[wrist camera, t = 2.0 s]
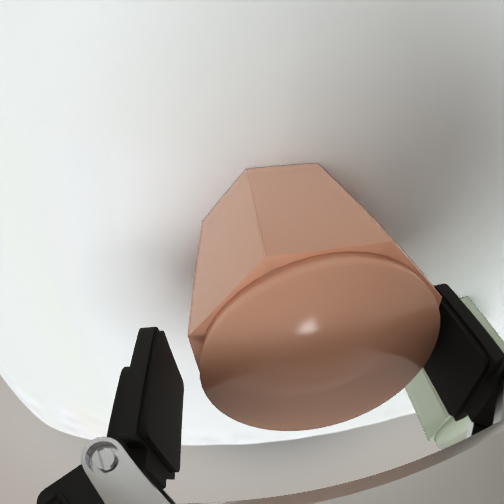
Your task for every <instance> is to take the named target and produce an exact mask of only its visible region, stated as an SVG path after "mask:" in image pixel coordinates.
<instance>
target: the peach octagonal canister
mask: <svg viewBox="0 0 504 504" xmlns="http://www.w3.org/2000/svg"><path fill="white" fill-rule="evenodd" d="M441 299H442V296H441V295H440V294H439V292H438V291H437V290H436V289H435V287H434V286H433V285H432V284H431V283H430V281H429V280H428V279H427V278H426V276H425V275H424V274H423V273H422V272H421V271H420V269H419V268H418V267H417V266H416V265H415V263H414V262H413V261H412V260H411V259H410V258H409V256H408V255H407V254H406V253H405V252H404V251H403V250H402V248H401V247H400V246H399V245H398V244H397V243H396V242H395V241H394V240H393V238H392V237H391V236H390V235H389V234H388V233H387V232H386V231H385V230H384V229H383V227H382V226H381V225H380V224H379V223H378V222H377V221H376V220H375V219H374V218H373V217H372V216H371V215H370V214H369V213H368V212H367V211H366V210H365V208H364V207H363V206H362V205H361V204H359V203H358V202H357V201H356V200H355V199H354V198H353V197H352V196H351V195H350V194H349V193H348V192H347V191H346V190H345V189H344V188H343V187H342V186H341V185H340V184H339V183H337V182H336V181H335V180H334V179H333V178H332V177H331V176H330V175H329V174H328V173H327V172H326V171H325V170H324V169H323V168H322V167H321V166H320V165H319V164H318V163H309V164H295V165H283V166H272V167H261V168H251V169H245V171H244V172H243V173H242V174H241V176H240V177H239V178H238V179H237V180H236V181H235V183H234V184H233V185H232V186H231V187H230V189H229V190H228V191H227V192H226V193H225V195H224V196H223V197H222V198H221V199H220V201H219V202H218V203H217V204H216V205H215V207H214V208H213V209H212V210H211V212H210V213H209V214H208V215H207V216H206V218H205V219H204V220H203V221H202V228H201V235H200V242H199V249H198V256H197V263H196V271H195V278H194V286H193V294H192V302H191V311H190V319H189V328H188V338H189V341H190V344H191V347H192V350H193V353H194V357H195V360H196V363H197V366H198V369H199V371H200V380H201V384H202V388H203V390H204V392H205V394H206V396H207V397H208V399H209V400H210V401H211V403H212V404H213V405H214V406H215V407H216V408H217V409H218V410H220V411H221V412H222V413H224V414H225V415H227V416H228V417H230V418H232V419H234V420H236V421H238V422H241V423H243V424H246V425H249V426H253V427H257V428H262V429H268V430H277V431H300V430H310V429H317V428H322V427H327V426H331V425H335V424H338V423H341V422H345V421H347V420H350V419H353V418H355V417H358V416H360V415H362V414H364V413H367V412H369V411H370V410H372V409H374V408H376V407H378V406H380V405H381V404H383V403H384V402H386V401H387V400H389V399H390V398H392V397H393V396H394V395H396V394H397V393H398V392H400V391H401V390H402V389H403V388H404V387H405V386H406V385H408V384H409V383H410V382H411V381H412V380H413V378H414V377H415V376H416V375H417V374H418V373H419V372H420V370H421V369H422V368H423V366H424V365H425V364H426V362H427V360H428V359H429V357H430V355H431V353H432V351H433V349H434V347H435V345H436V342H437V339H438V335H439V330H440V312H439V305H440V302H441Z"/></svg>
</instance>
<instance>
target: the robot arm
mask: <svg viewBox="0 0 504 504" xmlns="http://www.w3.org/2000/svg"><path fill="white" fill-rule="evenodd" d="M434 287H435V289H436V290H437V291H438V292H439V294H440V295H441V296H442V299H441V302H440V305H439V312H440V330H439V335H438V339H437V342H436V345H435V347H434V349H433V351H432V353H431V355H430V357H429V359H428V360H427V362H426V364H425V365H424V366H423V368H424V370H425V372H426V374H427V375H428V377H429V379H430V381H431V383H432V384H433V386H434V388H435V390H436V392H437V393H438V395H439V397H440V399H441V401H442V403H443V405H444V406H445V408H446V410H447V412H448V414H449V415H450V416H453V418H454V420H455V421H459V420H461V419H463V418H465V417H467V415H468V417H469V418H470V422H469V427H468V431H467V436H466V439H464V440H462V441H460V442H458V443H456V444H454V445H452V446H449V447H447V448H445V449H443V450H441V451H438V452H436V453H434V454H431V455H429V456H426V457H424V458H421V459H419V460H416V461H414V462H411V463H408V464H406V465H404V466H400V467H397V468H395V469H392V470H389V471H385V472H383V473H379V474H376V475H373V476H370V477H366V478H363V479H359V480H355V481H352V482H348V483H344V484H340V485H336V486H332V487H327V488H323V489H318V490H313V491H308V492H303V493H297V494H291V495H284V496H277V497H271V498H262V499H252V500H242V501H230V502H214V503H191V504H504V353H503V351H502V350H501V349H500V347H499V346H498V345H497V343H496V342H495V341H494V339H493V338H492V337H491V336H490V334H489V333H488V332H487V331H486V329H485V328H484V327H483V326H482V324H481V323H480V322H479V321H478V320H477V318H476V317H475V316H474V315H473V313H472V312H471V311H470V310H469V309H468V308H467V306H466V305H465V304H464V303H463V302H462V301H461V299H460V298H459V297H458V296H457V295H456V294H455V293H454V291H453V290H452V289H451V288H450V287H449V286H448V285H447V284H440V285H436V286H434ZM183 394H184V385H183V380H182V377H181V375H180V372H179V370H178V367H177V365H176V362H175V360H174V357H173V354H172V352H171V349H170V346H169V344H168V341H167V338H166V336H165V333H164V331H159V330H158V328H157V327H149V328H140V329H139V332H138V336H137V340H136V344H135V348H134V352H133V356H132V360H131V364H130V367H124V368H123V369H122V372H121V375H120V379H119V383H118V387H117V391H116V396H115V400H114V404H113V409H112V413H111V418H110V423H109V428H108V433H107V437H99V438H96V439H93V440H91V441H90V442H89V443H88V444H86V446H85V447H84V449H83V451H82V454H81V465H79V466H78V467H77V468H75V469H74V470H72V471H71V472H69V473H68V474H66V475H65V476H63V477H62V478H60V479H59V480H57V481H56V482H55V483H53V484H51V485H50V486H49V487H47V488H45V489H44V490H43V491H42V492H41V493H40V494H39V496H38V499H37V504H177V503H176V502H175V501H174V500H173V499H172V498H171V497H170V495H169V494H168V493H167V492H166V491H165V490H164V488H165V487H166V479H175V472H179V470H180V453H181V452H180V451H181V429H182V411H183Z"/></svg>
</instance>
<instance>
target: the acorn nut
mask: <svg viewBox="0 0 504 504" xmlns="http://www.w3.org/2000/svg"><path fill="white" fill-rule="evenodd" d="M460 299H461V301H462V302H463V303H464V304H465V305H466V306H467V308H468V309H469V310H470V311H471V312H472V313H473V315H474V316H475V317H476V318H477V320H478V321H479V322H480V323H481V324H482V326H483V327H484V328H485V329H486V331H487V332H488V333H489V334H490V336H491V337H492V338H493V339H494V341H495V342H496V343H497V345H498V346H499V347H500V349H501V350H502V351H503V353H504V341H503V340H502V339H501V337H500V336H499V335H498V333H497V332H496V331H495V330H494V328H493V327H492V326H491V324H490V323H489V322H488V321H487V319H486V318H485V317H484V316H483V314H482V313H481V312H480V311H479V309H478V308H477V307H476V306H475V305H474V303H473V302H472V301H471V300H470V299H469V297H464V298H460ZM405 389H406V391H407V393H408V396H409V398H410V400H411V402H412V404H413V407H414V409H415V411H416V413H417V416H418V418H419V420H420V423H421V425H422V427H423V430H424V432H425V434H426V437H427V439H428V441H430V442H435V443H436V445H437V447H438V448H440V449H445V448H447V447H449V446H452V445H454V444H456V443H458V442H460V441H462V440H464V439H466V436H467V431H468V427H469V422H470V418H469V417H468V415H467V417H465V418H463V419H461V420H459V421H455V420H454V418H453V416H450V415H449V414H448V412H447V410H446V408H445V406H444V405H443V403H442V401H441V399H440V397H439V395H438V393H437V392H436V390H435V388H434V386H433V384H432V383H431V381H430V379H429V377H428V375H427V374H426V372H425V370H424V368H422V369H421V370H420V372H419V373H418V374H417V375H416V376H415V377H414V378H413V380H412V381H411V382H410V383H409V384H408V385H406V386H405Z"/></svg>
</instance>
